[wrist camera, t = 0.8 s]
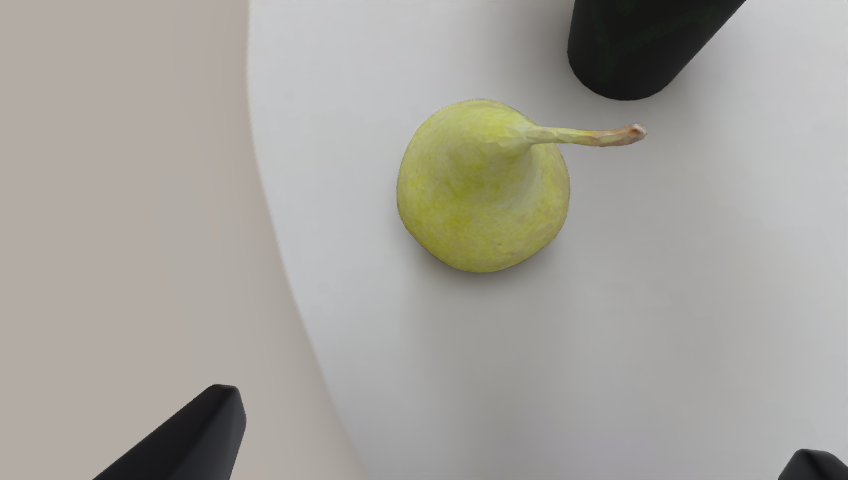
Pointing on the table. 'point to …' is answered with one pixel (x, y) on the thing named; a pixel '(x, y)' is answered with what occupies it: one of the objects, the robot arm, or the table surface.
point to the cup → (640, 41)
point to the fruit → (489, 183)
